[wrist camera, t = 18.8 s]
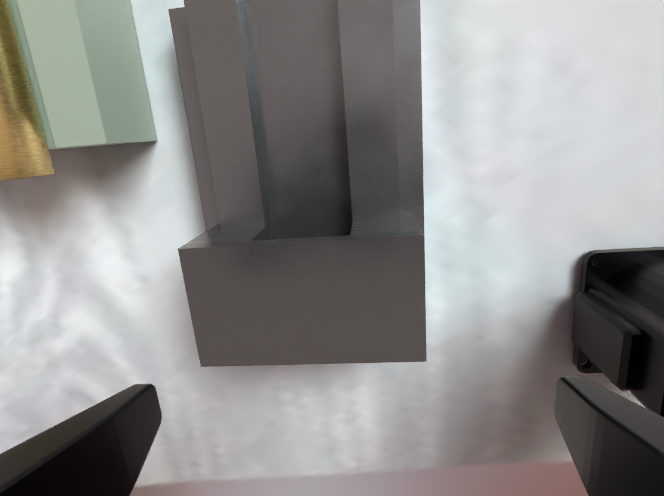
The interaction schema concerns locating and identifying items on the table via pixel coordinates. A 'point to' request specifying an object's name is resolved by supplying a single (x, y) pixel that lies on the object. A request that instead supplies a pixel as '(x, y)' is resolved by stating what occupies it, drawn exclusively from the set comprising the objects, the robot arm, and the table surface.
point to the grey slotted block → (305, 180)
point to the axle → (18, 110)
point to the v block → (85, 71)
